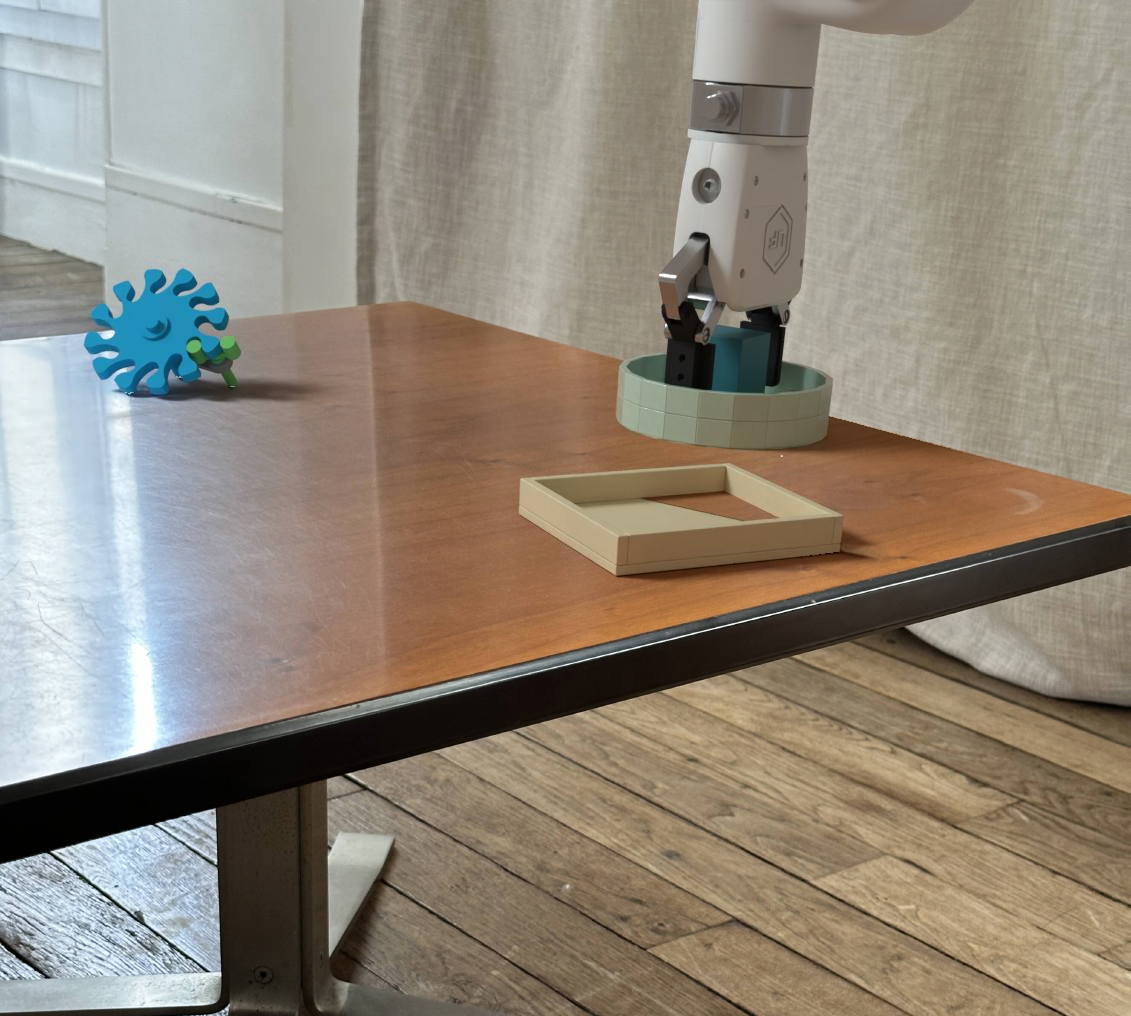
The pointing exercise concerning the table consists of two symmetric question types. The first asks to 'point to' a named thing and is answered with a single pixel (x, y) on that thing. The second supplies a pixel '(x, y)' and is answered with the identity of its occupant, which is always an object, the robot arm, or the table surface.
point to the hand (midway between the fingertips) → (722, 393)
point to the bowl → (724, 408)
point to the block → (740, 359)
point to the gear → (162, 334)
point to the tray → (675, 518)
